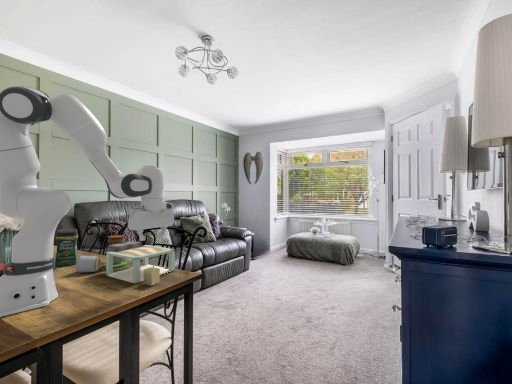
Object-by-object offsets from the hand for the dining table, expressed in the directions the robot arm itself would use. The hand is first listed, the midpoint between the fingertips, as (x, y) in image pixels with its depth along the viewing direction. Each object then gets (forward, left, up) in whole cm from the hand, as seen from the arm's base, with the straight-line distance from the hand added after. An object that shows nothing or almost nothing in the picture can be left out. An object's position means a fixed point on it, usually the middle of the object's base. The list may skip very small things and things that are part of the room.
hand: (152, 238), depth 111 cm
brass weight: (0, 0, -19) cm, 19 cm away
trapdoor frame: (+7, +16, -18) cm, 25 cm away
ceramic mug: (-4, +40, -19) cm, 45 cm away
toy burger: (+9, +40, -19) cm, 45 cm away
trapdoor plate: (+7, +20, -11) cm, 24 cm away
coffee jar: (-3, +63, -19) cm, 66 cm away
